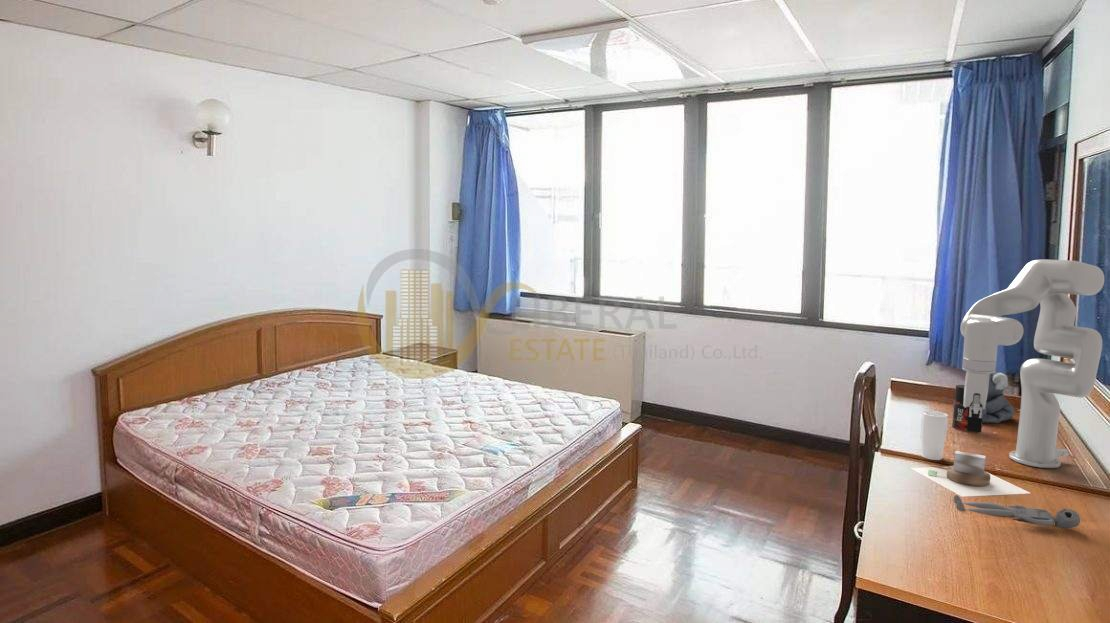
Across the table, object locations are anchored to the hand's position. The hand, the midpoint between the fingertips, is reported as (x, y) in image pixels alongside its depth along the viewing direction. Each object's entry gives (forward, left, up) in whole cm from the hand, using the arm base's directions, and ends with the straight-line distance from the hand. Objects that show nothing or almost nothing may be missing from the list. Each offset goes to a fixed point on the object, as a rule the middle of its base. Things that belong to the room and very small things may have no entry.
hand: (973, 426), depth 174 cm
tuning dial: (+2, -1, -15) cm, 15 cm away
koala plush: (-56, -59, -17) cm, 83 cm away
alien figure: (+5, +21, -17) cm, 28 cm away
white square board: (+1, 0, -17) cm, 17 cm away
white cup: (-3, -18, -17) cm, 25 cm away
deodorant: (-38, -48, -17) cm, 63 cm away
